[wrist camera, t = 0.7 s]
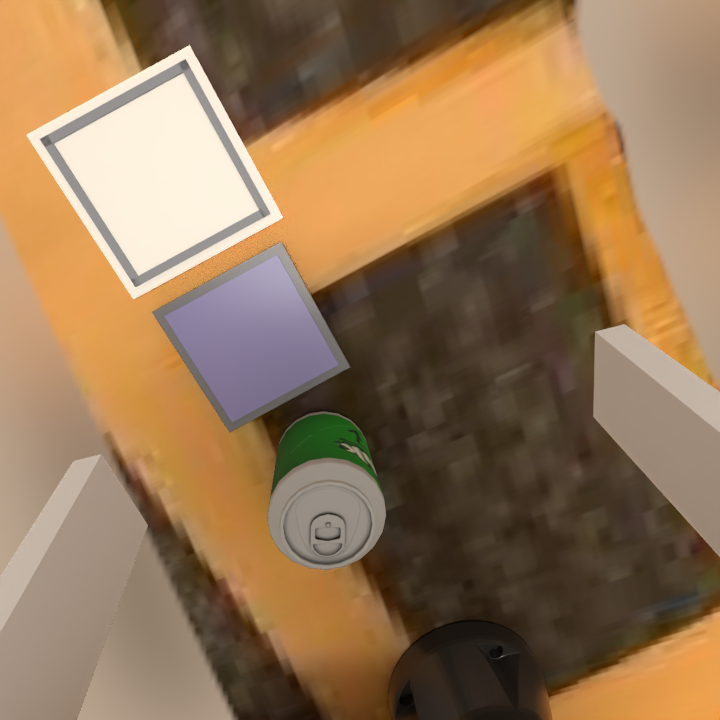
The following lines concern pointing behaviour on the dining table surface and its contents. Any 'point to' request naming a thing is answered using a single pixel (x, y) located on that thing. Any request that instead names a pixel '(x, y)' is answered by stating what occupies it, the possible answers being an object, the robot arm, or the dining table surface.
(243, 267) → the ink pad
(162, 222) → the marked sheet
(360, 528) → the soda can
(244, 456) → the dining table surface
